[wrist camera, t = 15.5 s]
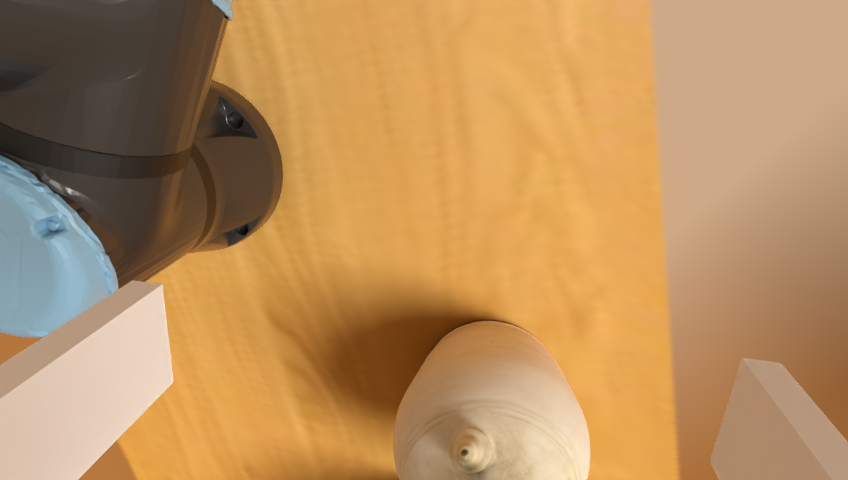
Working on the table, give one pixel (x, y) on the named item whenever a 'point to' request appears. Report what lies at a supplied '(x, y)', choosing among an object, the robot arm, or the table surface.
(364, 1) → the table surface
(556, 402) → the jug
